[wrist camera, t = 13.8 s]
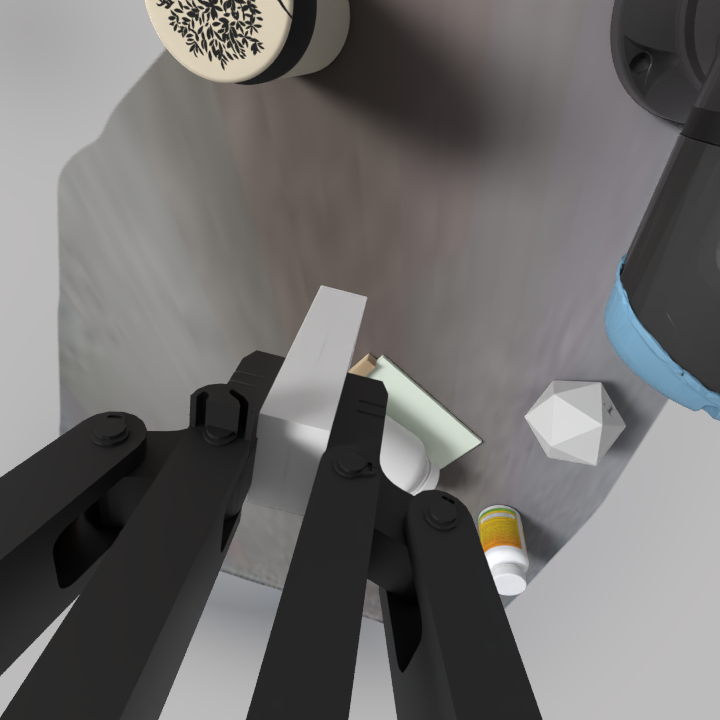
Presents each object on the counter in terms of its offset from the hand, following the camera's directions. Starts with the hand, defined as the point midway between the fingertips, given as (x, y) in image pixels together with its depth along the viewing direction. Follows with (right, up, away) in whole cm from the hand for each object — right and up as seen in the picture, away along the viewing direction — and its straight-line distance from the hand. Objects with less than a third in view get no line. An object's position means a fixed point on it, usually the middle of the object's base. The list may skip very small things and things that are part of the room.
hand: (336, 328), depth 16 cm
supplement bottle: (+19, -22, +49) cm, 57 cm away
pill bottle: (-3, -7, +37) cm, 37 cm away
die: (+23, -5, +38) cm, 45 cm away
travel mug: (-4, +26, +23) cm, 35 cm away
